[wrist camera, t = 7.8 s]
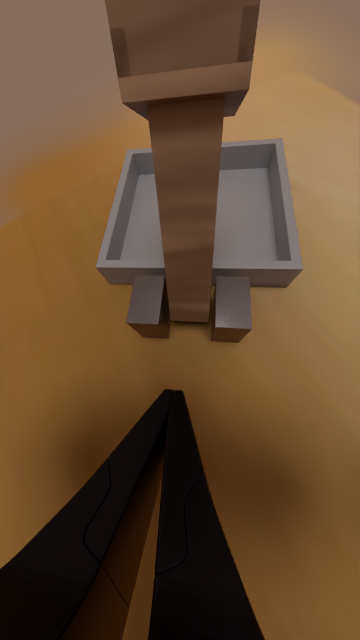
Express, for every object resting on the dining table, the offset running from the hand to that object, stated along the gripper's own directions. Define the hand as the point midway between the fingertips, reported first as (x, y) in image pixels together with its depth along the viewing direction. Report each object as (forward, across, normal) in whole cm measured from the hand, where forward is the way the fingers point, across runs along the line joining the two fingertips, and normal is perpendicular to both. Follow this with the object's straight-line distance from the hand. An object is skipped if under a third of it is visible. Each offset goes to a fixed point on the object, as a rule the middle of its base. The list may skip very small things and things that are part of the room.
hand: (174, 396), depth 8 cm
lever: (+10, 0, 0) cm, 10 cm away
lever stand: (+10, 0, +1) cm, 10 cm away
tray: (+18, 0, -8) cm, 20 cm away
